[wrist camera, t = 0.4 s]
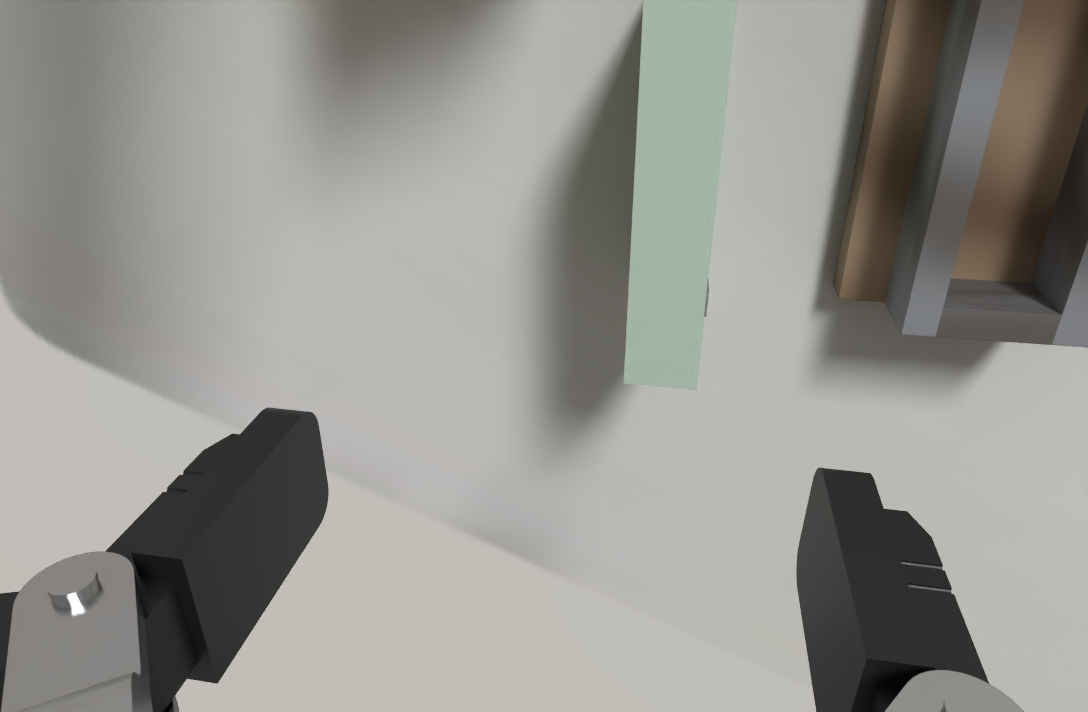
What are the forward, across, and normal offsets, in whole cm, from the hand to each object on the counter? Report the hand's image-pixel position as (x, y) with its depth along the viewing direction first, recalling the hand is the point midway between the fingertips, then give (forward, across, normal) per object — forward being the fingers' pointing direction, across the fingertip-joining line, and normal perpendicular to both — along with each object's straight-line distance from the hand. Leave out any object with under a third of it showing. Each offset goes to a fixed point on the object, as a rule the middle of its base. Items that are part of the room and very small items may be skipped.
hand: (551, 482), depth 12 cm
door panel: (+23, -2, -1) cm, 23 cm away
